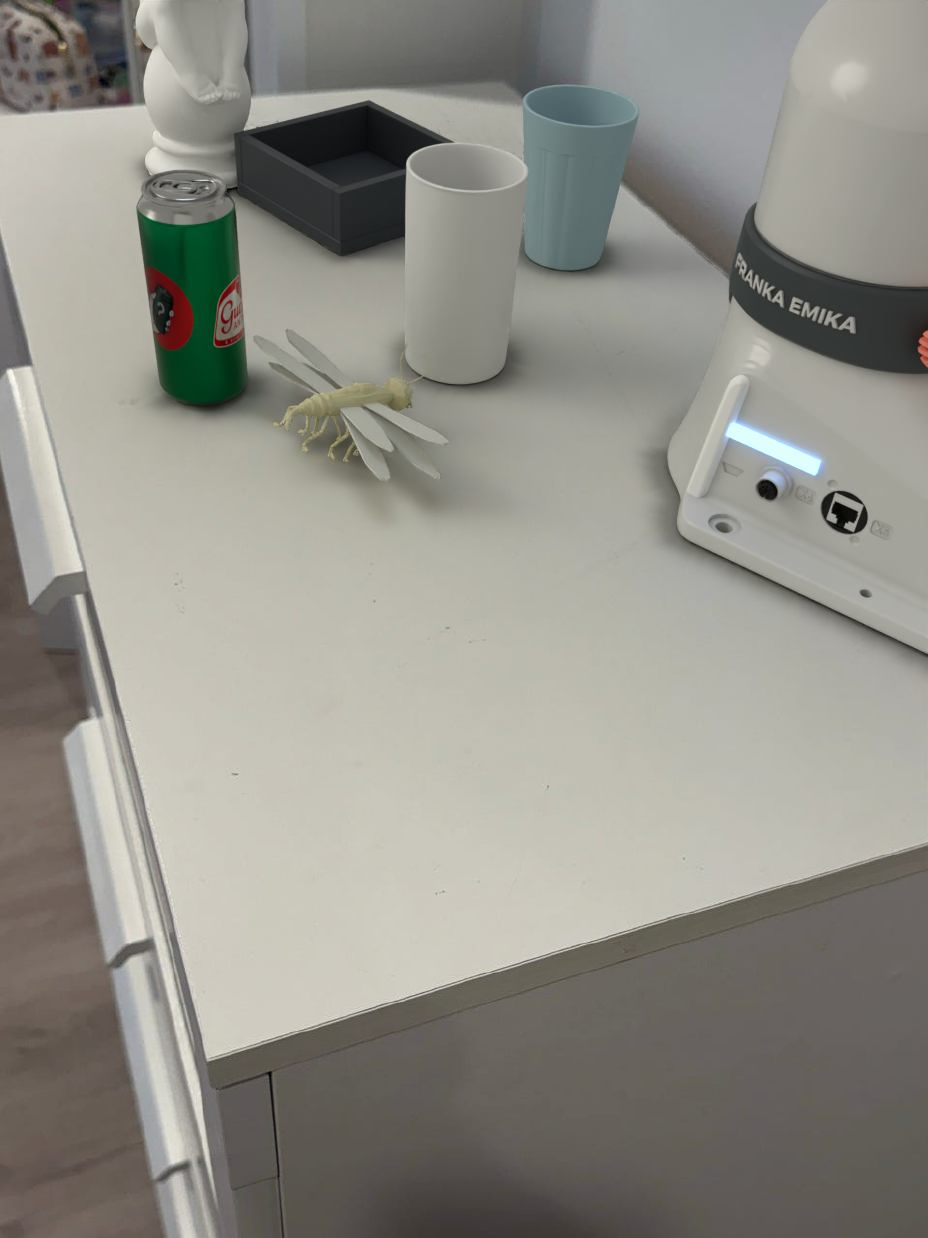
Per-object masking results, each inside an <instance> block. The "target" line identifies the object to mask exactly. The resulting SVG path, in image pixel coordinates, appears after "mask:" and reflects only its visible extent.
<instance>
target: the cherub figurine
mask: <svg viewBox="0 0 928 1238" xmlns="http://www.w3.org/2000/svg"><path fill="white" fill-rule="evenodd" d="M135 15H136V16H135V29H136V32H137V35H138V36H139V38H140V40H141V42H142V43H143V45H145V47H146V48H148V49H150V50H151V53H150V54H149V58H148V61H147V63H146V66H145V71H144V76H143V86H142V87H143V97H144V98H143V99H144V103H145V107H146V109H147V112H148V115H149V117H150V119H151V122H152V124H153V126H154V128H155V130H154V131H153V132H152V142H153V144H154V146H153V147H152V148H150V150H148V152H147V153H146V155H145V158H144V165H145V167H146V169H147V170H148V171H147V172H148V173H147V174H149V175H150V177H151V176H153V175H155V174H158V173H161V172H165V171H171V170H199V171H205V172H209V173H212V174H215V175H217V176H219V177H220V178H222V179H223V180H224V181H225V183H226V186H227V190H228V189H233V188H238V185H237V172H236V158H235V144H234V133H237V132H241V131H245V128H246V125H247V122H248V121H249V116H250V111H251V106H252V92H251V90H252V89H251V84H250V80H249V76H248V74H247V71H246V68H245V66H244V64H245V57H246V54H247V50H248V43H249V32H248V25H247V19H246V4H245V0H139V7H138V8H137V12H136V14H135Z"/></svg>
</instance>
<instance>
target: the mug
mask: <svg viewBox="0 0 928 1238" xmlns="http://www.w3.org/2000/svg"><path fill="white" fill-rule="evenodd" d="M406 167H407V171H406V201H405V235H404V236H405V238H404V242H405V243H404V244H405V245H404V247H405V248H404V264H405V265H404V347H405V346H406V343H407V344H408V346H406V349H405V348H404V349H405V352H404V356H405V360H406V363H407V364H408V365H409V368H411V369H412V370H413V371H414V372H416V373H417V375H420V376H422V375H423V374H425V373H426V372H427V371H426V369H427V368H428V367H430V368H429V370H428V369H427V370H428V372H427V373H426V375H424V376H423V377H424V378H426V379H429V380H432V381H435V382H439V383H442V384H450V385H470V384H476V383H480V382H481V383H482V382H484V381H488V380H490V379H492V378H493V377H496V375H498V374H499V373H500V372H501V371H502V370H503V368H504V367H505V364H506V359H507V354H508V348H509V347H508V346H509V341H510V334H511V325H512V316H513V309H514V300H515V299H514V298H515V289H516V282H517V276H518V275H517V273H518V267H519V257H520V249H521V242H522V233H523V225H524V209H525V201H526V191H527V178H528V168H527V166H526V164H525V163H524V160H522V158H520V157H518V156H517V155H515V154H514V153H511V152H509V151H507V150H505V149H501V148H499V147H496V146H495V147H494V146H491V145H486V144H480V143H473V142H455V143H443V144H437V145H432V146H428V147H425V148H422V149H420V150H417V151H416V152H414V153H413V154H412V155H411V156H410V157H409V158H408V160H407V163H406ZM414 351H420V352H422V353H424V354H425V355H426V356H427V357H428V359H429V361H428V360H427V358H426V357H425V356H424V355H423V354H421V353H419V352H414ZM428 362H430V366H428ZM425 371H426V372H425ZM424 372H425V373H424Z"/></svg>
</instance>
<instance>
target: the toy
mask: <svg viewBox="0 0 928 1238" xmlns="http://www.w3.org/2000/svg"><path fill="white" fill-rule="evenodd" d="M284 332H285V336H286V339H287V342H288V343H289V344H290V345H291V346H293V348H295V349H296V350H297V352H298V353H300V355H302V357H304V358H305V359H306V360H308V361H309V362H310V363H312V365H314V366H315V367H316V368H317V369H316V368H315V367H313V366H311V365H309V364H307V363H305V362H303V361H300V360H299V359H297V358H296V356H295V357H294V356H293V355H292V354H291V353H289V352H288V351H286V350H284V349H283V348H282V347H280V346H278V345H277V344H275V343H274V342H272V341H271V340H268V339H266V338H264V337H263V336H260V335H257V334H256V335H253V336H252V340H253V342H254V344H255V345H256V346H257V347H258V348H259V349H260V350H261V351H262V352H263V353H265V354H266V355H267V356H269V357H270V358H271V359H272V360H273V361H275V362H273V361H269V362H268V363H267V364H268V366H269V368H270V369H271V370H272V371H273V372H275V373H276V374H277V375H280V376H281V377H282V378H283V379H285V380H287V381H289V382H291V383H292V384H295V385H296V386H298V387H300V388H302V389H304V390H306V391H308V392H309V393H311V394H313V395H312V396H311V397H310V398H309V397H307V398H305V399H304V400H303V401H301V402H300V403H299V404H298V405H297V404H295V405H290V406H288V407H287V410H286V411H285V415H284V416H283V419H282V420H281V422H280V423H279V422H276V421H273V422H272V425H273V427H274V428H275V429H276V430H277V429H279V428H282V427H283V426H285V430H286V432H289V431H290V430H289V429H290V427H291V424H292V422H293V420H294V416H295V415H296V414H301V415H302V416H305V427H304V429H299V430H298V431H297V432H298V434H301V436H302V437H306V435H307V432H308V431H309V429H310V418H312V417H314V418H315V421H314V425H313V430H311V431H310V434H311V436H309V437H308V438H306V439H304V441H303V443H302V444H301V451H302V452H303V453H305V454H309V449H308V447H307V444H309V443H310V442H311V441H313V440H315V439H316V438H317V437H319V436H322V435H323V434H324V433H325V429H326V427H327V424H328V421H329V418H330V417H331V418H332V420H333V421H334V424H335V428H336V431H337V437H335V439H336V441H334V443H331V445H330V447H329V451H328V453H327V457H328V458H331V460H333V461H336V457H335V454H334V453H333V452H334V448H336V447H337V446H339V444H341V443H342V442H343V441H345V440H346V439H347V438H348V436H349V435H350V436H351V438H352V440H353V441H352V442H351V444H350V445H349V447H348V449H347V451H346V453H345V454H344V457H343V459H342V460H343V462H344V463H350V459H349V457H350V456H351V453H352V451H353V448H354V446H355V447H356V449H355V450H354V451H353V453H352V455H353V456H355V457H359V455H360V456H361V458H362V460H363V462H364V465H365V466H366V467H367V468H368V469H369V470H370V472H371V473H372V474H373V475H374V476H375V477H376V478H377V479H378V480H380V481H381V482H386V483H389V482H390V481H391V472H390V469H389V467H388V464H387V461H386V458H385V455H384V454H383V453H382V450H384V451H386V452H388V453H392V452H393V451H394V447H395V448H396V449H397V450H398V452H400V453H401V454H402V456H404V458H406V459H407V460H408V461H409V462H410V463H411V464H412V465H413V466H414V467H415V468H416V469H418V470H419V471H421V472H423V473H424V474H426V475H428V476H430V477H432V478H433V479H434V480H438V481H439V480H441V479H442V475H441V473H440V471H439V469H438V468H437V467H436V465H435V464H434V463H433V462H432V460H431V458H430V457H429V456H428V455H427V454H426V453H425V452H424V451H423V450H422V449H421V447H420V446H419V445H418V444H417V443H416V442H415V441H414V440H413V439H412V438H411V437H410V436H409V435H408V434H407V433H406V432H408V433H409V434H411V435H413V436H415V437H417V438H419V439H421V440H423V441H425V442H427V443H431V444H435V445H438V446H449V445H450V441H449V440H448V438H446V437H445V436H444V435H443V434H441V433H440V432H438V431H436V430H434V429H432V428H430V427H427V425H424V424H422V423H420V422H418V421H417V420H413V419H412V418H410V417H408V416H406V415H404V414H402V413H400V412H401V411H404V409H412V408H413V407H414V406H413V402H412V399H413V393H414V389H413V388H412V387H411V386H410V384H411V383H414V382H416V381H419V380H420V379H422V378H423V377H424V375H426V373H427V372H428V370H429V368H430V367H428V368H427V369H428V370H427V369H426V371H427V372H426V371H425V372H426V373H425V372H424V373H425V374H423V375H420V376H419V377H418V378H416V379H413V380H410V381H408V382H407V381H406V380H404V379H403V374H402V361H403V358H404V356H405V349H406V346H408V344H407V343H406V346H405V345H404V349H402V352H401V355H400V357H399V361H400V362H399V371H400V377H398V376H392V377H390V378H388V379H386V382H385V383H384V386H383V385H377V384H375V383H371V382H365V381H361V382H354V381H353V380H352V379H351V378H350V377H349V376H348V375H347V374H346V373H344V372H343V371H342V370H341V369H340V368H339V367H338V366H337V365H336V364H334V362H333V361H332V360H330V358H328V357H327V356H326V354H324V353H323V352H322V351H321V350H320V349H319V348H318V347H317V346H315V345H314V344H312V343H311V342H310V341H309V340H307V339H306V338H304V337H303V336H302V335H300V334H298V332H295V331H294V330H293V329H290V328H286V329H284ZM414 352H419V353H421V354H423V355H424V356H425V357H426V358H427V360H428V361H429V359H428V357H427V356H426V355H425V354H424V353H422V352H420V351H414ZM276 362H277V363H276ZM428 366H430V362H428ZM386 405H387V406H386ZM337 417H341V418H342V420H343V422H344V424H345V433H344V434H343V435H342V429H341V427H340V424H339V421H338V418H337ZM321 418H324V420H323V423H322V426H321V428H320V430H318V427H319V422H320V419H321ZM381 449H382V450H381Z"/></svg>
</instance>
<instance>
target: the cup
mask: <svg viewBox="0 0 928 1238" xmlns="http://www.w3.org/2000/svg"><path fill="white" fill-rule="evenodd" d="M639 116H640V107H639V106H638V105H637V103H635V102H634V101H633V100H632V99H630V98H629V97H627V96H625V95H624V94H621V93H619V92H616V91H613V90H609V89H605V88H603V87H602V88H601V87H598V86H597V87H596V86H590V85H581V84H554V85H553V84H552V85H546V86H542V87H538V88H535V89H532V90H530V91H529V92H528V93H526V94H525V95H524V97H523V98H522V130H523V131H522V132H523V133H522V134H523V162H524V163H525V164H526V166H527V168H528V178H527V191H526V201H525V209H524V218H523V225H524V227H523V228H524V230H523V231H524V253H525V255H526V256H527V257H528V258H529V259H530V260H531V261H532V262H534V263H536V264H537V265H539V266H542V267H545V268H548V269H552V270H558V271H581V270H585V269H588V268H592V267H594V266H595V265H596V264H598V262H599V261H600V260H601V259H602V255H603V252H604V247H605V245H606V240H607V237H608V233H609V230H610V225H611V222H612V218H613V214H614V210H615V207H616V202H617V199H618V195H619V192H620V187H621V185H622V181H623V176H624V172H625V169H626V166H627V161H628V157H629V154H630V150H631V146H632V142H633V139H634V135H635V131H636V128H637V124H638V120H639Z"/></svg>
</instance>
